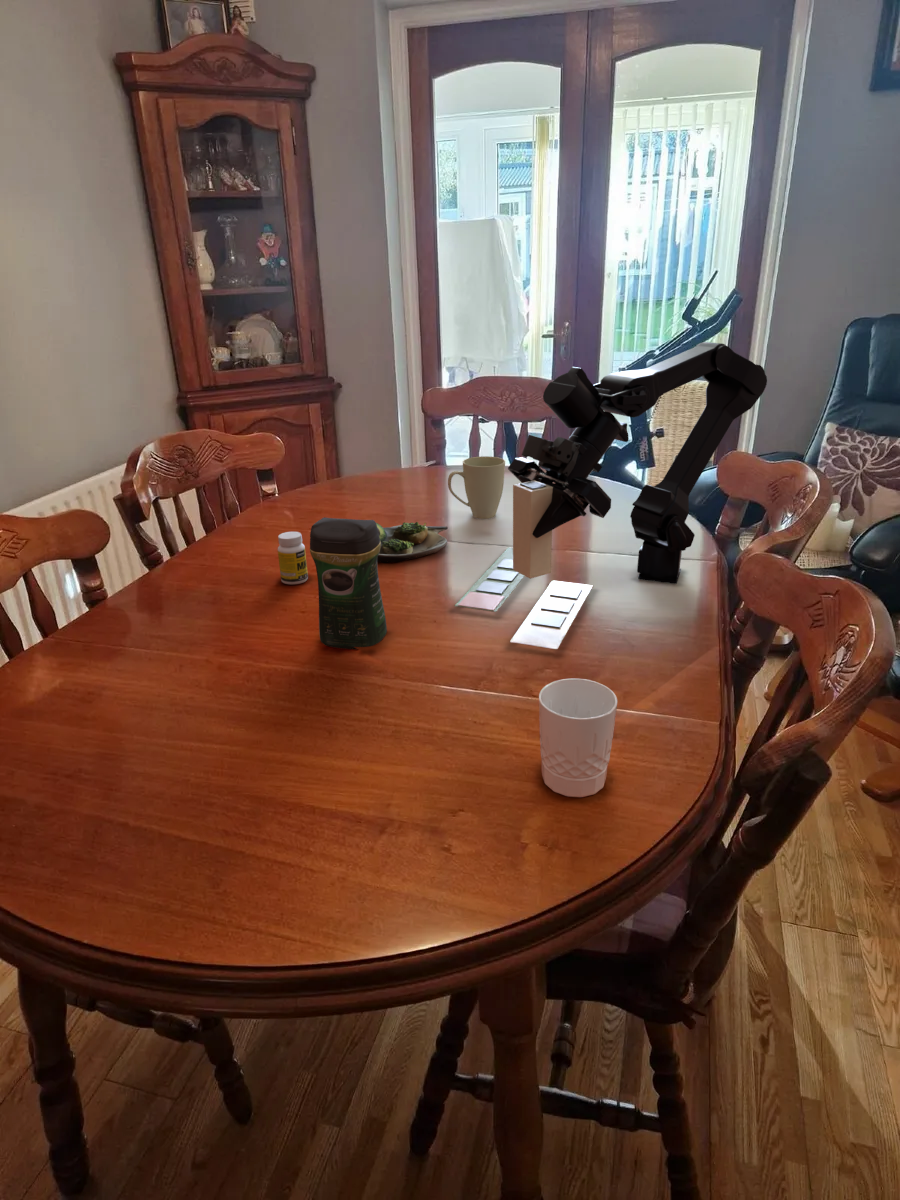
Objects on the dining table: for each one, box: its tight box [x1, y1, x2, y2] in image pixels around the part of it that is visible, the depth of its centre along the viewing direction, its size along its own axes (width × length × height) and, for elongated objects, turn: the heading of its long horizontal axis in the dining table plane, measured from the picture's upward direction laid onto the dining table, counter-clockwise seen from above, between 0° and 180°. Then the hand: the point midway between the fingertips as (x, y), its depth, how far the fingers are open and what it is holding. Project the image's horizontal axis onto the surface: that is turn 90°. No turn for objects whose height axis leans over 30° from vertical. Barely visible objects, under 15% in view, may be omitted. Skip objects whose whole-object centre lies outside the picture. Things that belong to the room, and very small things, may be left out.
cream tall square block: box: [512, 480, 553, 579], centre depth 113 cm, size 4×4×14 cm
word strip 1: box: [454, 546, 525, 613], centre depth 130 cm, size 28×7×1 cm, turn 158°
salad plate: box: [376, 521, 449, 564], centre depth 147 cm, size 19×18×5 cm
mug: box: [447, 455, 506, 520], centre depth 161 cm, size 11×10×12 cm
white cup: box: [538, 677, 618, 798], centre depth 79 cm, size 8×8×10 cm
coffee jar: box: [309, 516, 388, 651], centre depth 108 cm, size 10×8×19 cm
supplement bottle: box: [277, 531, 309, 586], centre depth 131 cm, size 5×5×8 cm
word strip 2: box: [509, 579, 594, 651], centre depth 117 cm, size 24×7×1 cm, turn 158°
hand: (524, 531), depth 112 cm, fingers closed on cream tall square block, 4 cm apart
